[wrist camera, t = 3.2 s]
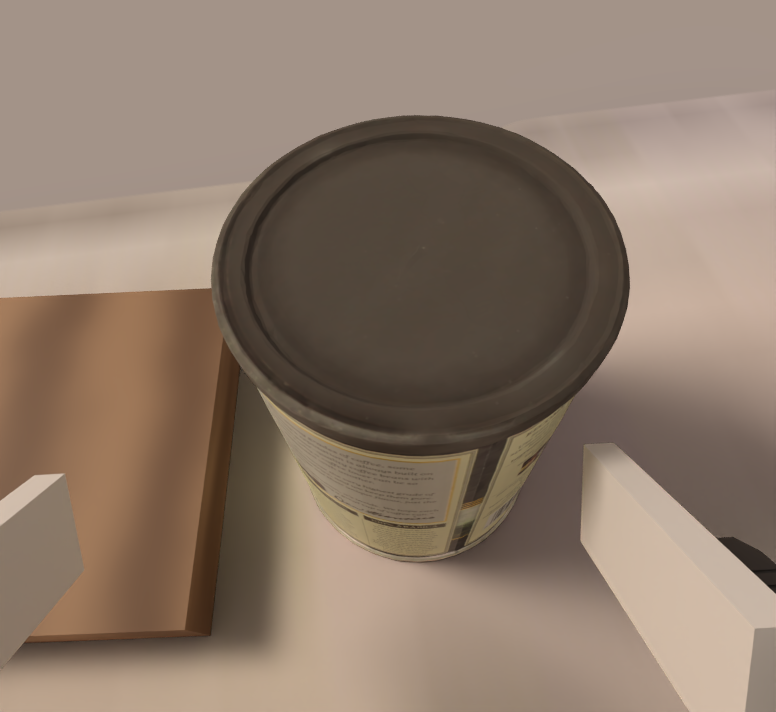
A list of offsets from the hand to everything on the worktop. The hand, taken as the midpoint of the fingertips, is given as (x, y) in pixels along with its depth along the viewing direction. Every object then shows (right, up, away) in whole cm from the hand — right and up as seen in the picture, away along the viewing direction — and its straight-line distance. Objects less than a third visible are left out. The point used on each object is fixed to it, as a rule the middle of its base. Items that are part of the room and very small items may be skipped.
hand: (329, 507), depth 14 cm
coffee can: (+3, -1, +12) cm, 12 cm away
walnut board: (-13, -1, +12) cm, 18 cm away
